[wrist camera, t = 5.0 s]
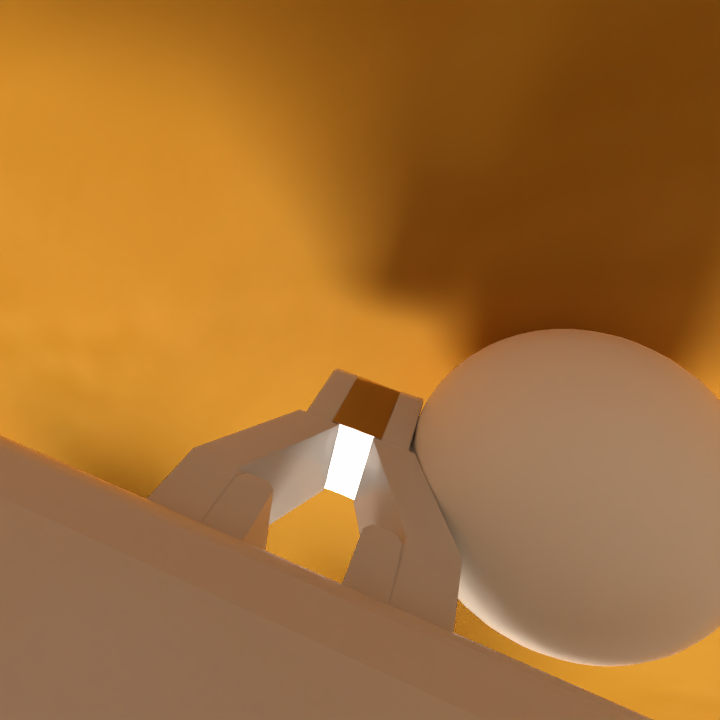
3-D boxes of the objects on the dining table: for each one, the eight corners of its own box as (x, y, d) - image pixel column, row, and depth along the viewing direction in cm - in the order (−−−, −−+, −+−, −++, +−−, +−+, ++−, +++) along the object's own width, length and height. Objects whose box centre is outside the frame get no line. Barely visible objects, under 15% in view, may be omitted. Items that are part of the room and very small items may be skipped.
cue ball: (443, 259, 9) (417, 454, 4) (735, 303, 8) (1060, 589, 4) (405, 446, 12) (368, 671, 7) (612, 490, 11) (707, 766, 7)
